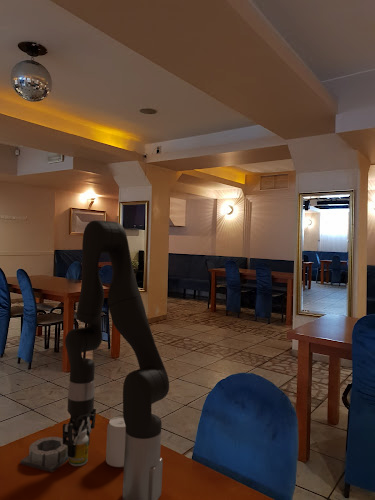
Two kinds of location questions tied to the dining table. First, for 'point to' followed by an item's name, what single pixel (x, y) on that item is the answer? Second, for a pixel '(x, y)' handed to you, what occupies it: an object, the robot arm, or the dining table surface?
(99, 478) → the dining table surface
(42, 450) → the rosette collar
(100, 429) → the dining table surface
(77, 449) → the supplement bottle
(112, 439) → the beverage can
